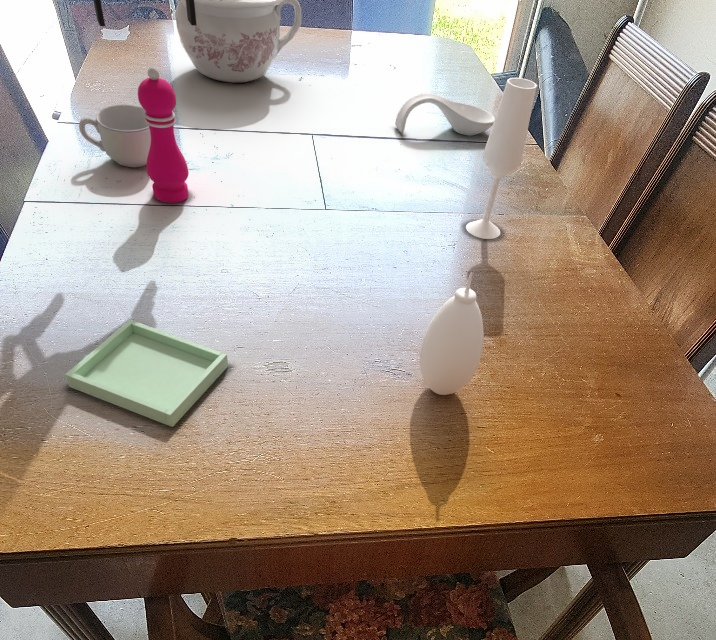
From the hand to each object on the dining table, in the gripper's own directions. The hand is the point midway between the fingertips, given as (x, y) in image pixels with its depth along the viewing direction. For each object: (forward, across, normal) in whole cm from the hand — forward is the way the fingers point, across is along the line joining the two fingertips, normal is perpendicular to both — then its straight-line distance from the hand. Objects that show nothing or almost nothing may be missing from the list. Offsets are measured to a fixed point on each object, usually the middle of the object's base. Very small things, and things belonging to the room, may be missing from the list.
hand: (147, 23), depth 92 cm
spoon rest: (+26, +68, +18) cm, 75 cm away
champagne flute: (+26, +53, -26) cm, 64 cm away
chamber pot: (+26, +28, +59) cm, 70 cm away
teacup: (+26, -6, +15) cm, 30 cm away
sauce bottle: (+26, +24, -64) cm, 73 cm away
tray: (+25, -14, -50) cm, 58 cm away
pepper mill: (+26, 0, -1) cm, 26 cm away
